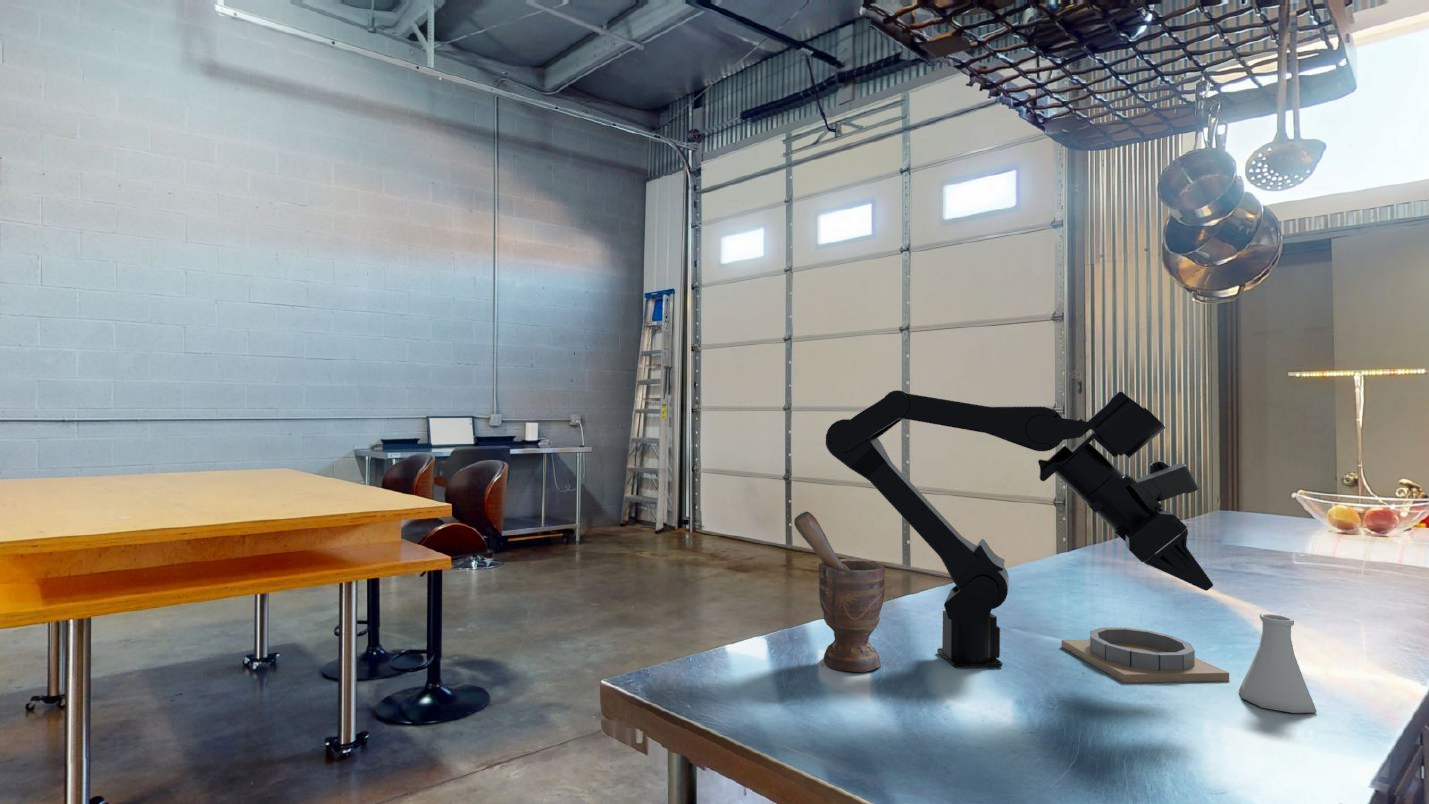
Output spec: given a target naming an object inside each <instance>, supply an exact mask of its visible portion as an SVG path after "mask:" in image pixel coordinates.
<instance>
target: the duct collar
mask: <svg viewBox="0 0 1429 804" xmlns="http://www.w3.org/2000/svg"><path fill="white" fill-rule="evenodd" d="M1060 643H1061V645H1060V646H1061V648H1063V649H1064V650H1066V651H1068V652H1070V653H1072V654H1073V655H1074V656H1077V657H1078V658H1080V659H1082V660H1084V661H1086V662H1087V663H1088V664H1091V665H1092V666H1094V667H1096V668H1098V669H1100V670H1101V671H1103V672H1105V673H1106V674H1108V675H1110V676H1111V677H1114V678H1115V679H1117V680H1119V681H1121V682H1122V683H1124V684H1125V683H1126V684H1127V683H1130V684H1131V683H1175V682H1177V683H1178V682H1187V683H1188V682H1223V681H1224V682H1226V681H1227V682H1228V681H1230V672H1228V671H1226V670H1224V669H1222V668H1219V667H1217V666H1215V665H1213V664H1211V663H1208V662H1206V661H1204V660H1202V659H1199V658H1197V657H1196V655H1195V654H1196V653H1195V651H1196V650H1195V649H1194V647H1193V645H1192V643H1190V642H1188V641H1185V640H1183V639H1181V638H1179V637H1176V636H1173V635H1169V634H1165V633H1161V632H1158V631H1153V630H1148V629H1139V628H1131V627H1126V626H1125V627H1122V626H1117V627H1113V626H1112V627H1110V626H1109V627H1098V628H1095V629H1092V630H1089V639H1061V642H1060Z"/></svg>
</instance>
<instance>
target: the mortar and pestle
mask: <svg viewBox="0 0 1429 804" xmlns="http://www.w3.org/2000/svg"><path fill="white" fill-rule="evenodd" d="M793 523H794V527H795V529H796V530H797V532H799V534H800V536H801V537H802V538H803V539H804V540H805V542H806V543H807V544H808V545H809V546H810V547H811V549H812V550H813V551H814V553H815V554H816V555H817V556H818V557H819V558H818V559H820V561H822V562H820V563H819V564H818V581H819V583H818V595H819V596H818V597H819V603H820V607H821V610H822V612H823V619H824V622H825V624H826V625H827V626H828V627H829V628H830V629H831V630H832V631H833V636H834V640H833V642H832V643H830V644H829V645H828V646H827V647H826V649H825V652H824V654H823V663H824V664H825V665H826V666H827V667H828V668H830V669H834V670H837V671H843V672H855V673H858V672H860V673H862V672H864V673H865V672H870V671H873V670H875V669H878V668H880V667H882V662H881V659H880V655H879V653H878V651H877V649H876V648H875V647H873V645H872V643H870V641H869V640H870V636H871V634H872V633H873V632H874V630H875V629H876V628H877V627H878V625H879V623H880V620H881V617H880V615H881V611H882V607H883V605H884V601H885V574H886V571H885V570H886V569H885V565H884V564H883V563H881V562H876V561H875V560H871V561H870V560H867V559H848V558H844V559H843V558H842V559H841V558H839V557H838V556H837V554H836V553H835V551H834V549H833V547H832V546H831V543H830V542H829V540H828V538H827V536H826V533H825V532H824V531H823V529H822V527H821V525H820V523H819V522H818V520H817V518H816V517H815V516H814V515H813V514H812V513H811V512H809V511H803V512H802V513H800V514H798V515H797V516H796V517H794V521H793Z"/></svg>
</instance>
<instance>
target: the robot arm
mask: <svg viewBox="0 0 1429 804" xmlns="http://www.w3.org/2000/svg"><path fill="white" fill-rule="evenodd" d="M904 419H905V420H909V421H914V422H920V423H927V424H930V425H931V424H932V425H938V426H943V427H950V428H955V429H961V430H966V431H972V432H978V433H985V434H987V435H990V436H993V437H996V438H999V439H1001V440H1004V441H1007V442H1008V443H1009V442H1010V443H1011V444H1014V445H1018V446H1020V447H1022V448H1026V449H1029V450H1032V451H1034V452H1035V451H1036V452H1049V451H1052V450H1054V449H1055V448H1057V447H1059V446H1060V444H1061V443H1062V442H1063V441H1064V440H1065V441H1066V440H1073V439H1078V438H1079V439H1080V438H1082V437H1084V435H1086V434H1087V432H1089V431H1091V433H1090V434H1088V435H1087V436H1086V437H1085V438H1084V439H1083V440H1081V442H1080V443H1078V444H1077V445H1076V446H1074V447H1073V448H1072V449H1070V448H1069V447H1068V446H1067V445H1063V446H1062V447H1061V448H1060V449H1059V450H1058V451H1057V452H1055V453H1054V454H1053V455H1052V456H1051V457H1050V458H1048V459H1042V458H1040V459H1038V460H1037V463H1038V466H1039V480H1040V481H1041V482H1045V481H1047V480H1048V479H1049V478H1051V477H1052V475H1054V474H1055V475H1056V476H1057V477H1058V478H1059V479H1060V480H1061V481H1062V482H1064V484H1065V485H1066V486H1067V487H1068V488H1069V489H1070V490H1071V491H1073V493H1074V494H1076V495H1077V496H1078V497H1079V498H1080V499H1081V500H1082V501H1083V502H1085V504H1087V506H1088V507H1089V508H1090V509H1091V510H1092V511H1093V512H1094V513H1095V514H1097V515H1098V516H1099V517H1100V518H1101V519H1102V520H1103V521H1104V522H1105V523H1106V524H1107V525H1108V526H1110V528H1111V529H1112V530H1113V531H1114V532H1115V534H1116V535H1117V536H1118V537H1120V539H1122V541H1124V542H1125V547H1126V548H1127V549H1128V550H1129V551H1130V552H1131V553H1132V554H1133V555H1134V556H1135V557H1136V558H1137V559H1138V560H1139V561H1140V563H1144V564H1145V565H1147V566H1150V567H1152V568H1154V569H1157V570H1159V571H1161V572H1164V573H1166V574H1168V575H1171V576H1173V577H1174V578H1177V579H1179V580H1181V581H1184V582H1186V583H1188V584H1190V585H1192V586H1193V587H1197V588H1198V589H1201V590H1203V591H1209V590H1210V589H1212V588H1213V587H1214V583H1213V582H1212V580H1211V578H1209V576H1208V575H1207V574H1206V572H1205V571H1204V569H1203V568H1202V566H1201V565H1200V564H1199V562H1198V561H1197V559H1196V558H1195V557H1194V556H1193V553H1191V552H1190V549H1188V546H1187V543H1188V542H1187V540H1188V534H1189V530H1188V527H1187V525H1186V524H1185V523H1183V522H1182V521H1181V520H1180V519H1179V517H1177V516H1176V515H1175V514H1174V513H1173V512H1170V511H1168V510H1163V509H1162V507H1163V505H1162V504H1161V503H1160V502H1163V501H1167V500H1169V499H1171V498H1174V497H1176V496H1180V495H1183V494H1191V493H1194V492H1195V491H1198V490H1199V486H1198V484H1197V482H1196V480H1195V478H1194V476H1193V475H1192V473H1191V471H1190V470H1189V467H1188V465H1187V464H1185V463H1174V464H1172V465H1171V466H1170V465H1168V464H1167V463H1166V462H1164V461H1162V460H1157V461H1155V462H1151V463H1149V464H1147V465H1148V467H1147V474H1144V475H1142V476H1141V477H1139V478H1136V479H1135V478H1133V477H1131V476H1130V475H1128V474H1127V473H1125V474H1124V473H1122V471H1121V470H1120V469H1118V467H1116V466H1115V465H1114V464H1113V463H1112V462H1111V461H1110V460H1109V459H1108V458H1106V456H1105V455H1103V454H1102V453H1101V451H1099V450H1098V449H1097V448H1096V447H1095V446H1094V445H1093V444H1092V443H1091V442H1092V441H1093V440H1094V441H1095V443H1097V444H1098V445H1099V446H1100V447H1101V448H1102V449H1103V450H1104V451H1105V452H1107V454H1109V455H1110V456H1111V457H1112V458H1114V459H1117V458H1118V457H1122V456H1123V455H1124V457H1125V458H1127V459H1131V458H1132V457H1133V456H1134V455H1135V454H1137V453H1138V452H1139V451H1140V450H1142V448H1144V447H1145V446H1146V445H1147V444H1149V442H1151V441H1152V440H1153V439H1154V438H1156V437H1157V436H1159V434H1161V433H1162V431H1165V429H1166V426H1165V425H1164V424H1163V423H1162V422H1161V421H1160V420H1159V419H1158V418H1157V417H1156V415H1154V414H1153V413H1152V412H1151V411H1150V410H1149V409H1147V408H1146V407H1143V406H1141V405H1140V404H1139V403H1137V402H1136V401H1135V400H1133V399H1132V398H1131V397H1129V396H1128V395H1127V394H1126V393H1124V392H1123V391H1118V392H1116V393H1115V394H1114V395H1113V396H1112V397H1111V398H1110V399H1109V400H1108V402H1107V403H1106V404H1105V405H1104V406H1103V407H1102V408H1100V410H1098V411H1097V412H1096V413H1095V414H1094V415H1092V417H1090V418H1089V419H1088V420H1087V421H1085V420H1083V418H1082V417H1078V418H1077V419H1071V418H1063V417H1062V415H1060V413H1059V412H1058V411H1056V410H1055V409H1053V408H1050V407H1046V406H988V405H987V406H986V405H980V404H974V403H969V402H961V401H955V400H949V399H943V398H938V397H937V398H936V397H931V396H924V395H918V394H912V393H909V392H907V391H904V390H899V389H898V390H897V389H896V390H893V391H890V392H888V393H887V394H886V395H885V396H884V397H883V398H881V399H880V400H879V401H877V402H875V403H873V404H872V405H870V406H869V407H867V408H864V410H862V411H861V412H858V413H857V414H856V415H855V416H853V417H852V418H848V419H847V418H845V419H844V418H842V419H839V420H836V421H835V422H833V423H832V424H831V425H830V426H829V428H828V429H827V431H826V434H825V445H826V446H825V447H826V449H827V450H828V452H829V454H830V455H832V457H834V458H835V459H837V460H838V461H840V462H841V463H842V464H843V465H845V466H846V467H847V468H848V469H850V470H851V471H853V472H855V473H857V474H858V475H859V476H861V477H863V478H864V479H866V480H868V481H869V482H870V483H871V484H872V485H873V486H874V487H875V489H876V490H877V491H878V492H879V493H880V494H881V495H882V496H883V497H884V499H886V500H887V502H888V503H889V504H891V506H892V507H893V508H894V509H895V510H896V511H897V512H898V513H899V514H900V515H901V516H902V518H903V519H904V520H905V521H906V523H908V524H909V526H910V527H911V528H913V530H914V531H916V533H917V534H918V535H919V536H920V537H921V538H922V540H923V541H925V542H926V543H927V545H928V546H929V547H930V548H931V549H932V550H933V551H934V552H935V553H936V554H937V555H938V557H939V558H940V559H941V561H942V563H943V565H944V566H945V569H946V570H947V573H948V574H949V576H950V578H951V580H952V581H953V583H954V584H955V586H954V587H952V588H951V589H950V590H949V593H948V594H947V597H946V598H945V600H944V601H945V602H944V603H943V607H944V610H942V639H941V640H942V643H941V644H942V646H941V648H937V653H938V654H939V655H940V656H941V657H943V658H944V659H945V660H947V662H948V663H950V664H951V665H952V666H953V667H955V668H997V667H998V668H1002V667H1003V662H1002V661H1001V660H999V658H1000V657H1001V627H1000V626H999V625H998V623H997V622H998V616H996V615H995V614H993V613H991V612H992V610H994V609H996V608H999V607H1000V606H1002V605H1003V604H1004V602H1005V601H1006V599H1007V596H1008V595H1009V594H1008V593H1009V585H1010V576H1009V573H1008V570H1007V569H1006V567H1005V561H1006V560H1005V559H1004V558H1002V557H1000V556H999V555H997V554H996V553H995V552H994V551H993V550H992V549H991V547H990V546H989V544H988V543H987V542H986V540H985V539H984V538H982V539H981V540H979V542H978V543H977V544H975V543H973V542H972V541H970V540H968V539H966V538H965V537H964V536H962V535H961V534H960V532H959V531H957V529H956V528H955V527H954V526H952V524H951V523H950V522H949V521H948V520H947V519H946V517H944V516H943V515H942V513H941V512H940V511H939V510H937V508H936V507H935V506H934V505H933V504H932V503H931V502H930V501H929V500H928V498H926V497H925V496H924V495H923V494H922V493H921V492H920V490H918V488H916V486H915V485H914V484H913V483H912V482H911V481H910V480H909V479H908V478H907V477H906V476H905V475H904V474H903V472H902V471H901V470H899V469H898V467H897V466H896V465H895V464H894V463H893V462H892V461H891V458H890V456H889V455H888V452H887V451H886V449H885V447H884V445H883V444H882V442H881V441H880V439H879V438H880V437H881V436H882V435H884V434H885V433H887V432H888V431H889V430H891V429H892V428H893V427H894V426H896V425H897V424H898V423H900V422H901V421H903V420H904Z"/></svg>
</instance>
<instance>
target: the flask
mask: <svg viewBox="0 0 1429 804" xmlns="http://www.w3.org/2000/svg"><path fill="white" fill-rule="evenodd" d="M1259 618H1260V619H1259V620H1261V622H1262V633H1261V637H1260V642H1259V644H1258V645H1259V646H1258V647H1257V648H1258V649H1257V651H1256V653H1255V656H1254V657H1253V660H1252V662H1251V664H1250V666H1249V668H1248V670H1247V672H1246V674H1245V676H1244V678H1243V679H1242V682H1241V685H1239V688H1238V692H1239V695H1240V698H1241V699H1243V700H1246V701H1248V702H1250V703H1252V704H1253V705H1256V706H1258V707H1260V708H1264V709H1268V710H1275V711H1281V712H1287V713H1293V714H1301V713H1302V714H1303V713H1307V714H1309V713H1317V712H1318V711H1317V708H1316V706H1315V703H1314V701H1313V698H1312V696H1311V693H1310V691H1309V688H1308V686H1307V684H1306V681H1305V679H1304V677H1303V676H1304V675H1303V674H1302V671H1301V669H1300V665H1299V663H1298V660H1297V657H1296V655H1295V650H1294V646H1293V641H1292V627H1293V626H1294V625H1295V621H1294V619H1293V618H1292V617H1290V616H1285V615H1282V614H1276V613H1275V614H1274V613H1260V614H1259Z"/></svg>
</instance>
